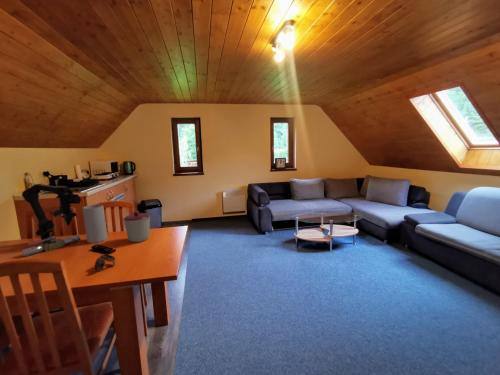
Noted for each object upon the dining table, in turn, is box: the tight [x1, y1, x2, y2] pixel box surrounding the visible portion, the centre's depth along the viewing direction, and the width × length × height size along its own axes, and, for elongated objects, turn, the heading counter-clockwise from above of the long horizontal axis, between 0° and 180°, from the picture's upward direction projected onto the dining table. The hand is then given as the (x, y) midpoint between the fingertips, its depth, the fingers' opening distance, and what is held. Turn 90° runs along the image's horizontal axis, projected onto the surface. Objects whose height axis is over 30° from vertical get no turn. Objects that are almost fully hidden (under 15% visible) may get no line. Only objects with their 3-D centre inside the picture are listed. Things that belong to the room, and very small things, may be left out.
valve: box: [21, 234, 81, 258], centre depth 170 cm, size 7×31×6 cm, turn 145°
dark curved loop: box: [93, 253, 116, 272], centre depth 137 cm, size 12×10×8 cm
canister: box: [122, 210, 151, 243], centre depth 178 cm, size 18×18×21 cm
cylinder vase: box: [82, 204, 108, 244], centre depth 180 cm, size 12×12×25 cm
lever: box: [27, 235, 56, 247], centre depth 164 cm, size 14×4×1 cm, turn 151°
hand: (68, 225), depth 181 cm, fingers closed
